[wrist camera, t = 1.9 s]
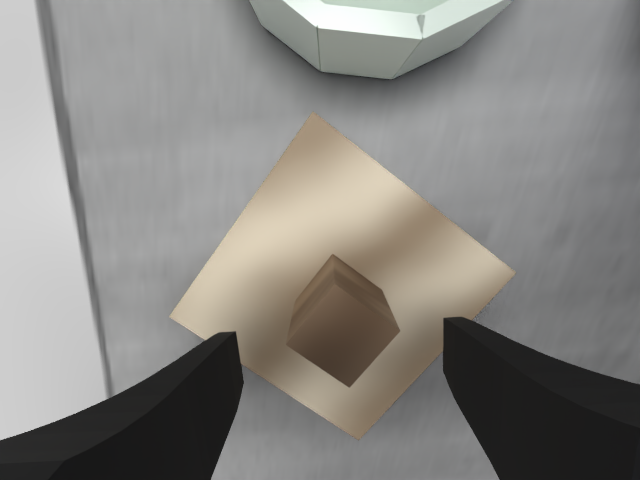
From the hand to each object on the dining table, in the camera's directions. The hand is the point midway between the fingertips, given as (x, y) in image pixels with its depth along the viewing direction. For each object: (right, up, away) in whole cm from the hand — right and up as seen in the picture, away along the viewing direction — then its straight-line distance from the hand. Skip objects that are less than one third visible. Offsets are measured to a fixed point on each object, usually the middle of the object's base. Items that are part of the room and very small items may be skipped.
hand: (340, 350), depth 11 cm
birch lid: (0, +1, +5) cm, 6 cm away
